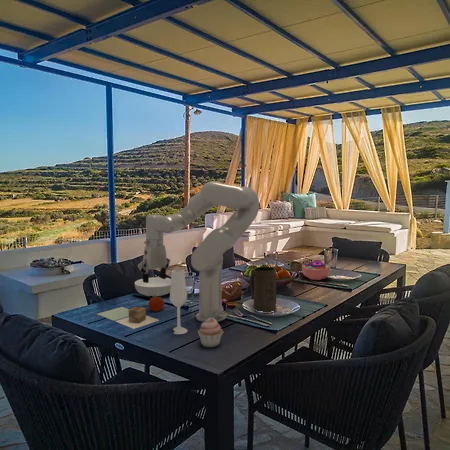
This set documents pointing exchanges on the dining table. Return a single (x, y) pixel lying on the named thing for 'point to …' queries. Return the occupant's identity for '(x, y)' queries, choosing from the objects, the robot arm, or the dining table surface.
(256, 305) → the beer stein
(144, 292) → the serving bowl
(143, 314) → the walnut block
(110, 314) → the pale sage mat
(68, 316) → the dining table surface
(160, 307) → the fruit
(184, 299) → the champagne flute
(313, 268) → the cell model
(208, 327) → the cupcake
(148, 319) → the cream mat
